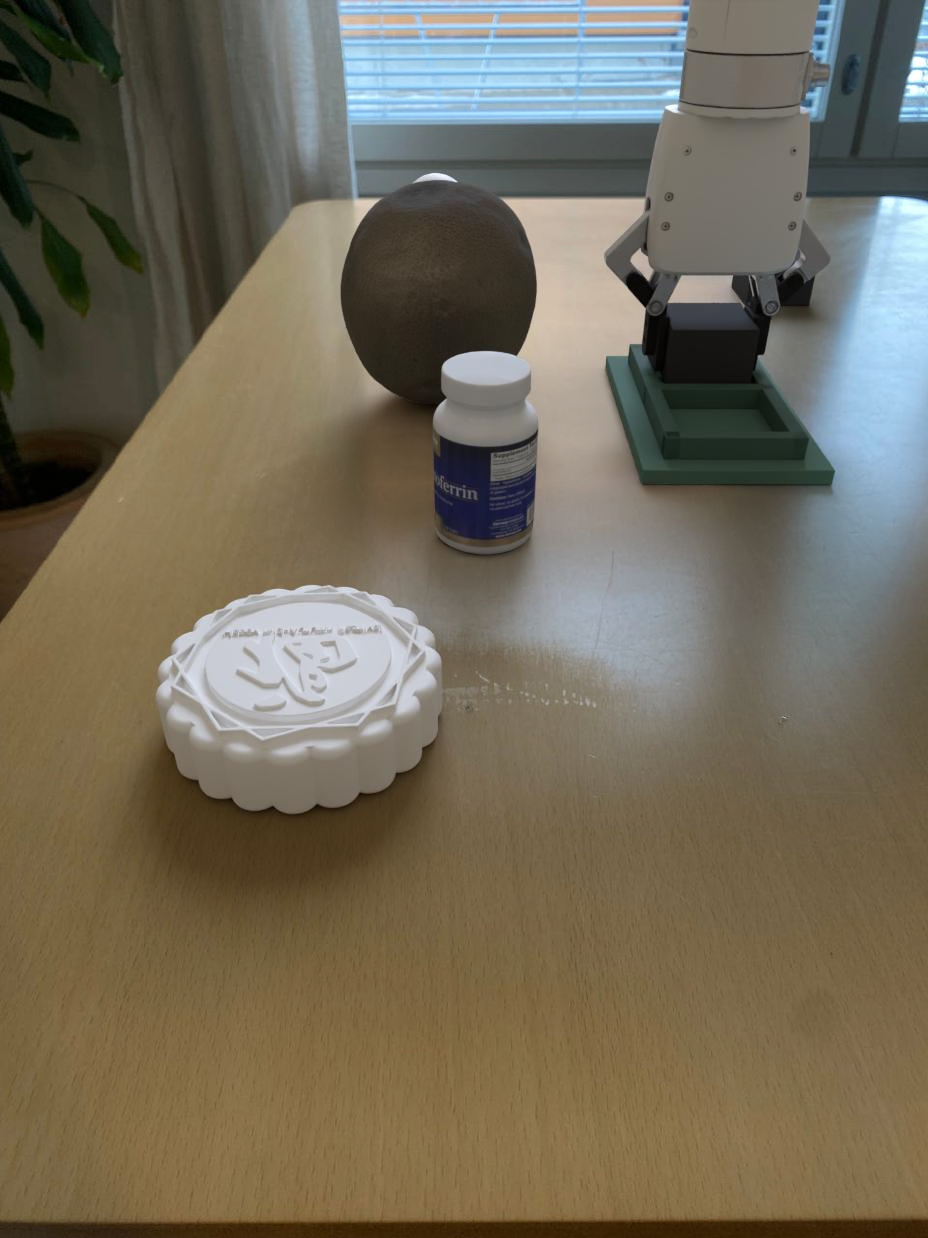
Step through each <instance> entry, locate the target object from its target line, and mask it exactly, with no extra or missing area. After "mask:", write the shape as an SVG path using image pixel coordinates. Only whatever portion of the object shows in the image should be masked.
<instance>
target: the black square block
mask: <svg viewBox="0 0 928 1238" xmlns="http://www.w3.org/2000/svg"><path fill="white" fill-rule="evenodd" d="M667 312H668V314H669V316H670V323H669V328H668V337H667V345H666V353H665V361H664V368H663V369H662V370H661V371H660V372H661V375H662V377H663V379H664V381H665V384H750V382H751V377H752V371H753V366H754V360H755V355H756V349H757V344H758V338H759V333H760V329H759V328H758V327H757V325H756V324H755V323H753V321H752V320H751V318H750V317H749V316H748V314H747V313H746V312H745V310H744V306H743V305H742V303H741V302H668V303H667Z"/></svg>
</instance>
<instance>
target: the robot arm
mask: <svg viewBox="0 0 928 1238" xmlns="http://www.w3.org/2000/svg"><path fill="white" fill-rule="evenodd" d="M820 2H821V0H689V5H688V14H687V22H686V23H687V24H686V32H685V33H686V34H685V41H684V51H683V59H682V67H681V77H680V85H679V94H678V103H677V104H669V105H666V106H665V107H664V108H663V109H664V110H663V113H662V116H661V119H660V122H659V127H658V130H657V134H656V139H655V142H654V147H653V151H652V157H651V161H650V167H649V172H648V178H647V184H646V190H645V196H644V202H643V203H644V204H643V209H642V214H641V215H640V217H639V218H637V219H636V220H635V221H634V222H633V223H632V224H631V225H630V226H629V228H628V229H626V230H625V231H624V232H623V234H621V235H620V237H618V238H617V239H616V240H615V241H614V242H613V243H612V244H611V245H610V247H609V248H607V249H606V250H605V251H604V253H603V261H604V263H605V264H606V266H607V268H608V269H609V270H610V271H611V272H612V273H613V274H614V275H615V276H616V277H617V278H618V280H619V281H620V282H622V283H623V284H624V286H626V288H627V289H628V290H629V292H630V293H631V294H632V295H633V296H634V297H635V298H636V300H638V302H639V303H640V304H641V305H642V306H643V308H644V309H645V310H644V311H645V313H644V321H643V330H642V340H641V344H642V353H643V355H648V358H649V360H650V363H651V365H652V368H653V370H654V371H661V370H662V369H663V368H664V361H665V353H666V345H667V337H668V328H669V323H670V316H669V314H668V312H667V303H669V301H670V299H671V297H672V295H673V293H674V291H675V289H676V287H677V285H678V283H679V281H680V280H681V278H682V276H693V277H695V276H700V277H701V276H706V277H707V276H709V277H710V276H713V277H715V276H724V277H725V276H733V275H748V276H749V280H750V285H751V290H752V294H753V297H752V298H751V301H750V303H747V305H745V306H743V308H744V310H745V312H746V313H747V314H748V316H749V317H750V318H751V320H752V321H753V323H755V324H756V325H757V327H758V328H759V329H760V333H759V338H758V344H757V349H756V355H755V360H754V366H753V371H755V369H756V364H757V359H759V356H764V355H765V353H766V348H767V342H768V339H769V338H768V337H769V333H770V328H771V321H772V317H773V316H775V315H776V314H777V313H778V312H779V311H780V309H781V306H783V305H782V304H783V303H784V302H786V301H787V300H788V299H789V298H790V297H791V296H793V295H794V294H795V293H796V292H797V291H799V290H800V289H801V288H802V286H803V284H804V283H805V282H806V281H807V280H808V281H809V280H810V279H811V278H812V277H814V276H815V277H816V276H817V274H819V273H820V272H821V271H822V270H823V269H824V268H826V267H827V266H828V265H829V264H830V262H831V255H830V253H829V252H828V251H827V249H826V248H825V247H824V244H822V242H821V240H819V238H818V237H817V235H816V234H815V233H814V231H813V229H812V228H811V227H810V226H809V225H808V223H807V222H806V220H805V219H804V215H805V209H806V207H805V206H806V199H807V190H808V179H809V178H808V177H809V166H810V147H811V146H810V144H811V141H810V140H811V131H810V130H811V123H810V122H811V119H810V118H811V117H810V113H811V112H810V110H809V109H807V108H806V107H805V106H802V102H805V101H806V97H807V94H808V93H809V91H811V90H814V89H815V88H825V87H826V86H827V85H828V83H829V80H830V77H831V76H830V75H831V64H830V62H820V61H819V60H818V59H815V57H814V52H812V51H811V50H812V46H813V41H814V35H815V29H816V24H817V18H818V15H819V14H818V13H819V7H820ZM798 248H799V250H800V252H801V255H800V258H799V259H798V260H797V261H796V262H795V264H794V265H793V266H791V265H792V264H793V262H794V260H795V257H796V254H797V250H798ZM639 250H640V252H641V253H642V254H643V255H645V256H646V257H647V263H648V265H649V267H650V268H651V269H652V273H651V274H650V276H649V278H648V279H647V278H646V277H645V275H644V274H643V273H642V272H641V271H640V270H639V269H638V268H637V267H636V266H635V265H634V264H633V262H632V261H631V260H632V257H633V256H634V255H636V253H637V252H638V251H639ZM790 266H791V267H790ZM789 267H790V268H789ZM779 272H781V273H780V274H779V275H778V276H777V277H775V276H774V274H776V273H779Z"/></svg>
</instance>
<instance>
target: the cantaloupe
mask: <svg viewBox="0 0 928 1238" xmlns="http://www.w3.org/2000/svg"><path fill="white" fill-rule="evenodd" d="M526 232H527V231H526V229H525V227H524V225H523V224H522V221H521V220H520V218H519V217H518V215H517V214H516V212H515V211H514V210H513V209H512V208H511V207H510V206H509V205H508V204H507V202H506V201H504V199H502V198H500V197H499V196H498V195H497V194H495V193H494V192H493V191H492V192H491V191H489V190H488V189H486V188H483V187H480V186H476V185H474V184H469V183H466V182H459V181H457V182H454V181H448V180H430V181H422V182H416V183H413V182H412V183H409V184H405V185H404V186H401V187H399V188H397V189H396V190H394V191H392V192H391V193H389V194H387V195H386V196H384V197H382V198H380V199H379V200H378V201H376V203H374V204H373V205H372V207H370V209H369V210H368V211H367V213H366V214H365V215H364V216H363V217H362V219H361V221H360V222H359V224H358V226H357V227H356V229H355V232H354V234H353V236H352V238H351V240H350V244H349V248H348V251H347V253H346V256H345V259H344V263H343V267H342V272H341V279H340V306H341V312H342V317H343V321H344V325H345V327H346V331H347V334H348V337H349V340H350V342H351V345H352V346H353V347H352V348H353V349H354V351H355V353H356V355H357V358H358V359H359V361H360V363H361V365H362V366H363V368H364V370H365V371H366V372H367V373H368V375H369V376H370V377H371V378H372V379H373V380H374V381H375V382H376V383H378V384H379V385H380V386H382V387H383V388H384V389H386V390H388V391H389V392H390V393H392V394H394V395H395V396H397V397H399V398H401V399H404V400H406V401H408V402H410V403H415V404H421V405H440V404H441V403H442V402H443V401H444V400H445V399H446V396H445V395H444V393H443V392H442V389H441V370H442V366H443V364H444V363H445V362H446V361H447V360H448V359H450V358H452V357H454V356H457V355H460V354H464V353H469V352H478V351H493V352H502V353H507V354H511V355H515V356H517V357H518V355H519V353H520V352H521V350H522V349H523V346H524V344H525V342H526V340H527V337H528V334H529V332H530V328H531V324H532V321H533V317H534V312H535V309H536V303H537V295H538V294H537V293H538V281H537V279H538V278H537V269H536V265H535V259H534V254H533V250H532V246H531V244H530V243H531V242H530V241H529V238H528V235H527V233H526Z"/></svg>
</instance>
